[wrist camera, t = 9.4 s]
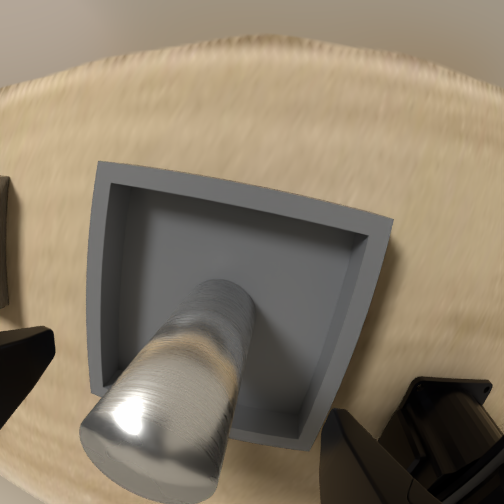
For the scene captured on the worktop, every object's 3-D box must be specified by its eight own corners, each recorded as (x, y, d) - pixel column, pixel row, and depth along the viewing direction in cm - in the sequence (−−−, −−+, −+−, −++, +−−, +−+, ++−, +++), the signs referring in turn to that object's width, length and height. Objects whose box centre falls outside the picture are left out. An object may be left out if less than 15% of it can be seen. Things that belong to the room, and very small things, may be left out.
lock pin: (262, 287, 14) (228, 444, 5) (247, 350, 14) (208, 516, 5) (190, 271, 14) (70, 388, 5) (182, 334, 14) (89, 474, 6)
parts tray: (374, 213, 13) (393, 219, 11) (307, 420, 15) (309, 451, 13) (126, 163, 14) (98, 160, 11) (111, 370, 16) (90, 393, 14)
